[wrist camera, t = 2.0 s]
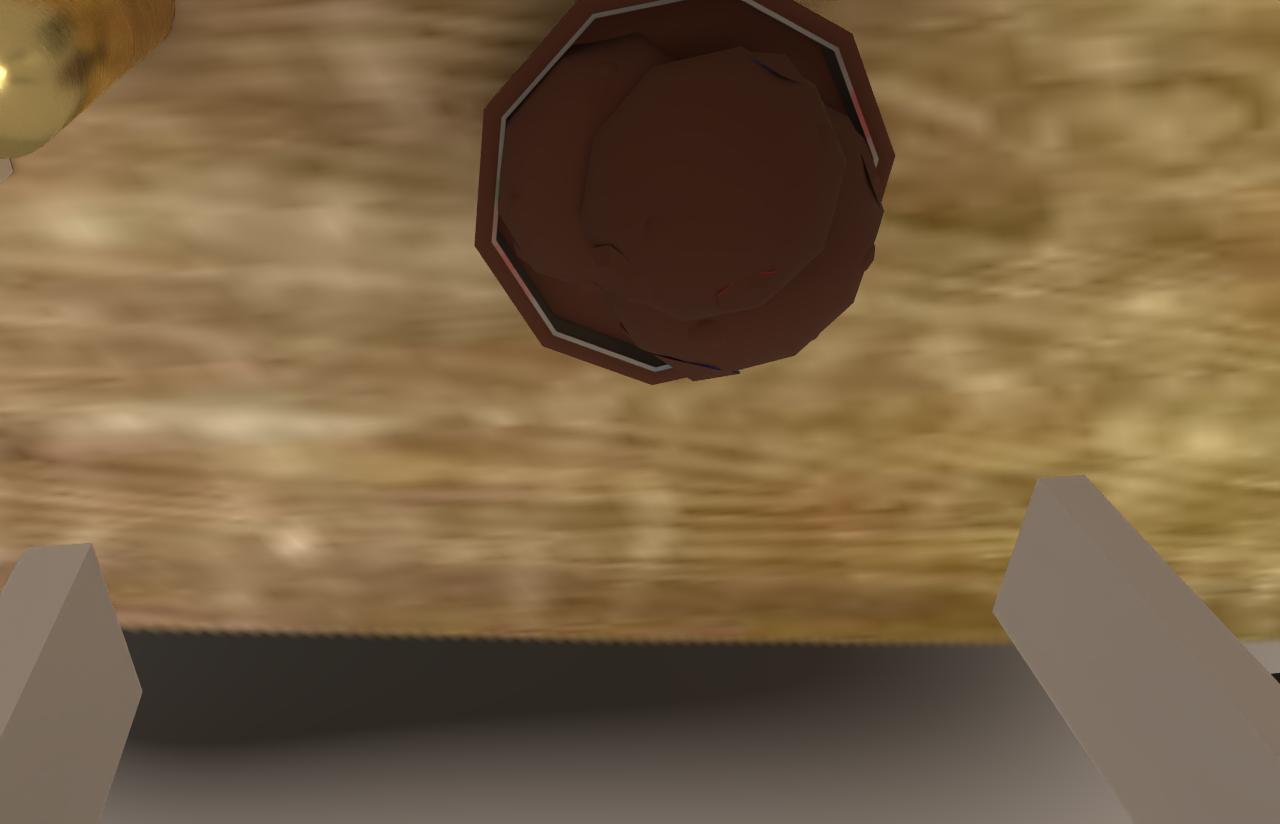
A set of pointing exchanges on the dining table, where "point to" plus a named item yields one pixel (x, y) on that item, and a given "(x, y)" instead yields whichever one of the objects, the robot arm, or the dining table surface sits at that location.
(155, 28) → the brass pin
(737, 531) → the dining table surface
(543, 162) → the ice cream bowl
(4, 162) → the pin board
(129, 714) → the robot arm
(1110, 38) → the dining table surface
